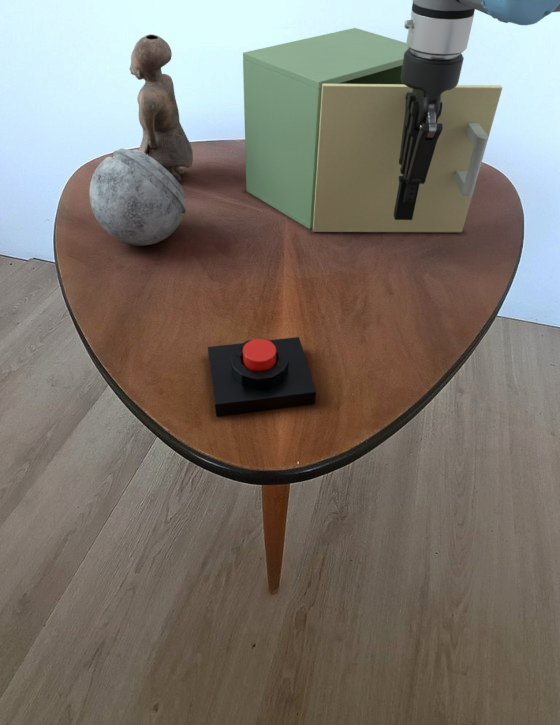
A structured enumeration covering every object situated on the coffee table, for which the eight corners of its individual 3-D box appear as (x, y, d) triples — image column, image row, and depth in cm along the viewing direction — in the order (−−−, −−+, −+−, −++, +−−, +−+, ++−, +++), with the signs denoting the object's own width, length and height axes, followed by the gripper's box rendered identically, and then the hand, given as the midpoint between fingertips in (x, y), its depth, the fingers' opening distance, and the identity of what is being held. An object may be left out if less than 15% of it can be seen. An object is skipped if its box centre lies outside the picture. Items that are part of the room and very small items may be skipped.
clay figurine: (153, 162, 114) (132, 24, 97) (200, 164, 114) (188, 26, 96) (135, 191, 105) (109, 44, 87) (187, 195, 104) (171, 47, 87)
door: (471, 250, 92) (516, 102, 75) (315, 250, 91) (326, 100, 75) (460, 229, 97) (500, 85, 80) (312, 229, 96) (322, 83, 80)
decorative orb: (206, 238, 94) (198, 151, 83) (137, 274, 86) (119, 183, 75) (151, 208, 101) (137, 124, 90) (82, 239, 93) (59, 151, 82)
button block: (298, 349, 74) (299, 326, 71) (315, 404, 67) (317, 381, 64) (208, 359, 72) (206, 336, 70) (216, 416, 65) (214, 393, 63)
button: (273, 347, 69) (273, 336, 68) (278, 369, 66) (278, 359, 65) (241, 351, 68) (240, 340, 67) (245, 373, 66) (245, 363, 64)
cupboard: (407, 186, 108) (432, 50, 92) (309, 229, 96) (319, 82, 79) (342, 155, 118) (354, 27, 101) (246, 191, 106) (242, 52, 89)
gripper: (397, 36, 75) (373, 197, 91) (414, 66, 66) (384, 239, 82) (452, 37, 75) (418, 197, 91) (477, 67, 66) (435, 240, 82)
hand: (402, 217), depth 87 cm, fingers closed
